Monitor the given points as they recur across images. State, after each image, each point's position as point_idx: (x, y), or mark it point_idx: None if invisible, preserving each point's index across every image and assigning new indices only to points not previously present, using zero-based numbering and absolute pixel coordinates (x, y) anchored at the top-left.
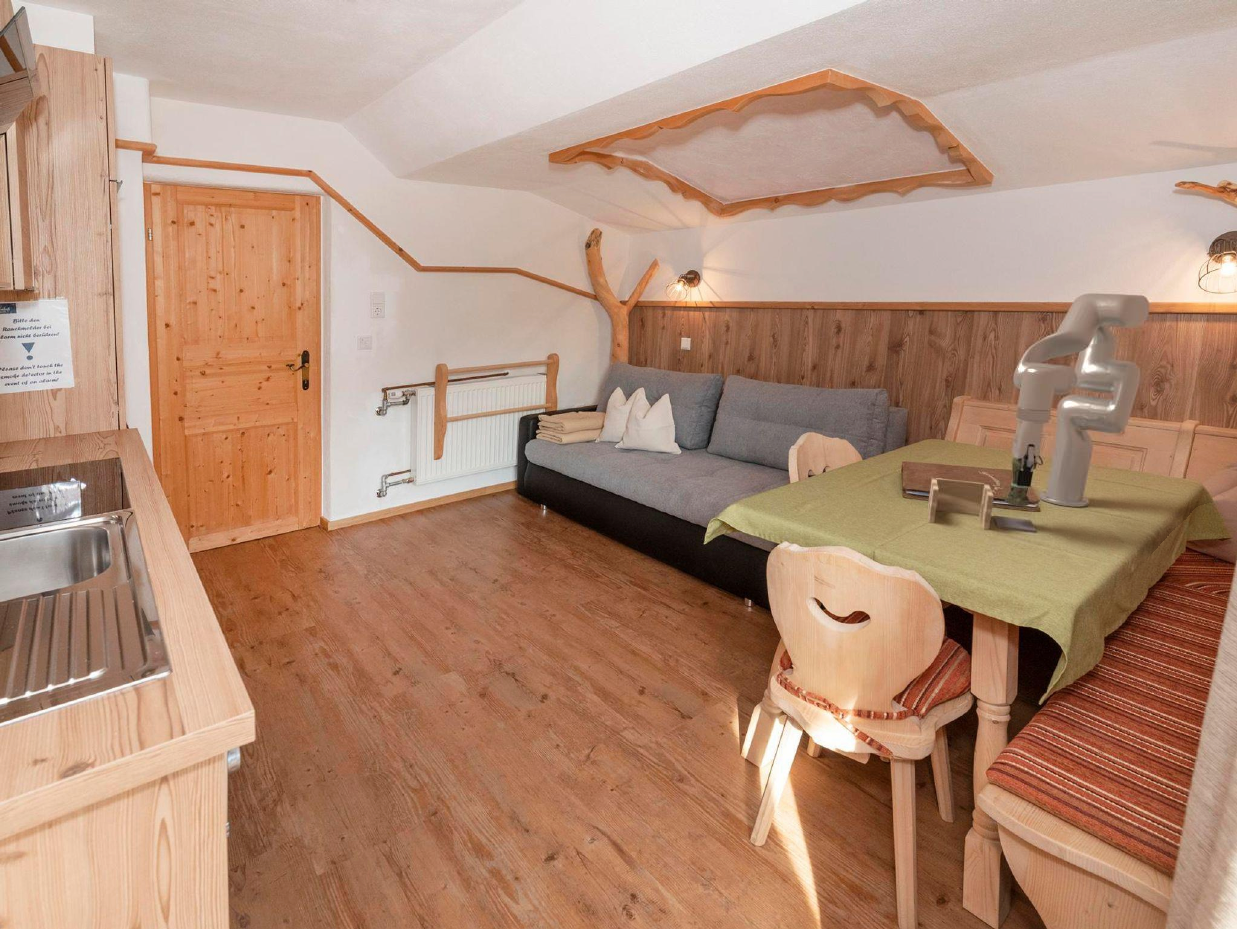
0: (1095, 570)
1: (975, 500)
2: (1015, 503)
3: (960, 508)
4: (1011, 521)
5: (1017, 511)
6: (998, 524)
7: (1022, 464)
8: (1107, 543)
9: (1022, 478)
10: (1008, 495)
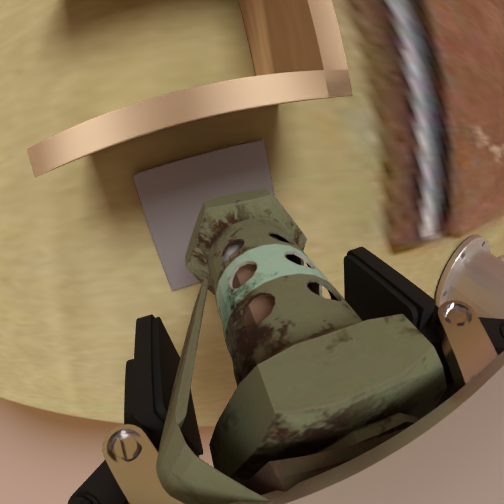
0: (24, 396)
1: (276, 58)
2: (189, 250)
3: (250, 22)
4: None
5: (373, 203)
6: (151, 174)
7: (128, 493)
8: (211, 403)
9: (125, 387)
10: (228, 216)
